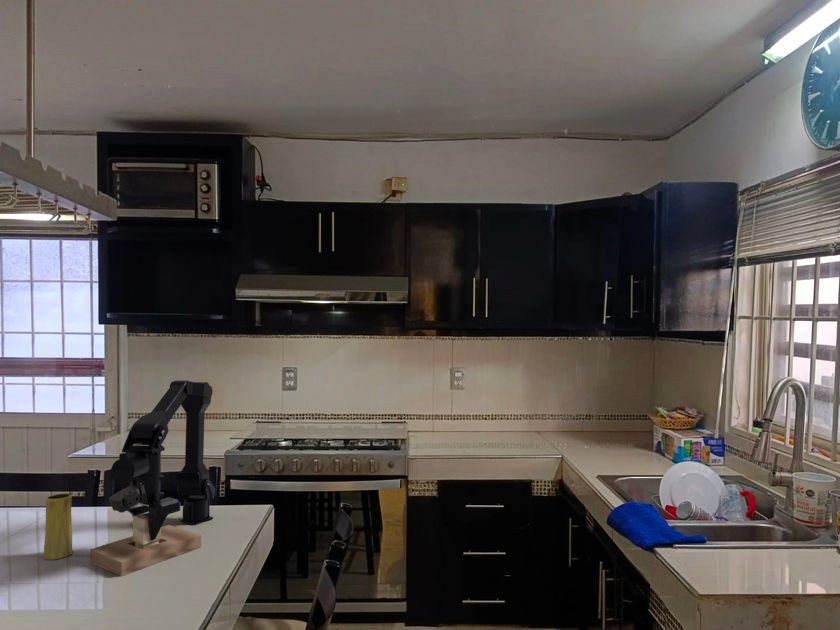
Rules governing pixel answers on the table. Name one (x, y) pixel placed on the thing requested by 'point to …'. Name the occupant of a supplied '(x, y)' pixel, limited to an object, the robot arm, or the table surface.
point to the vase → (58, 527)
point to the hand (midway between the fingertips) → (147, 537)
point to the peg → (143, 532)
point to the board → (144, 551)
